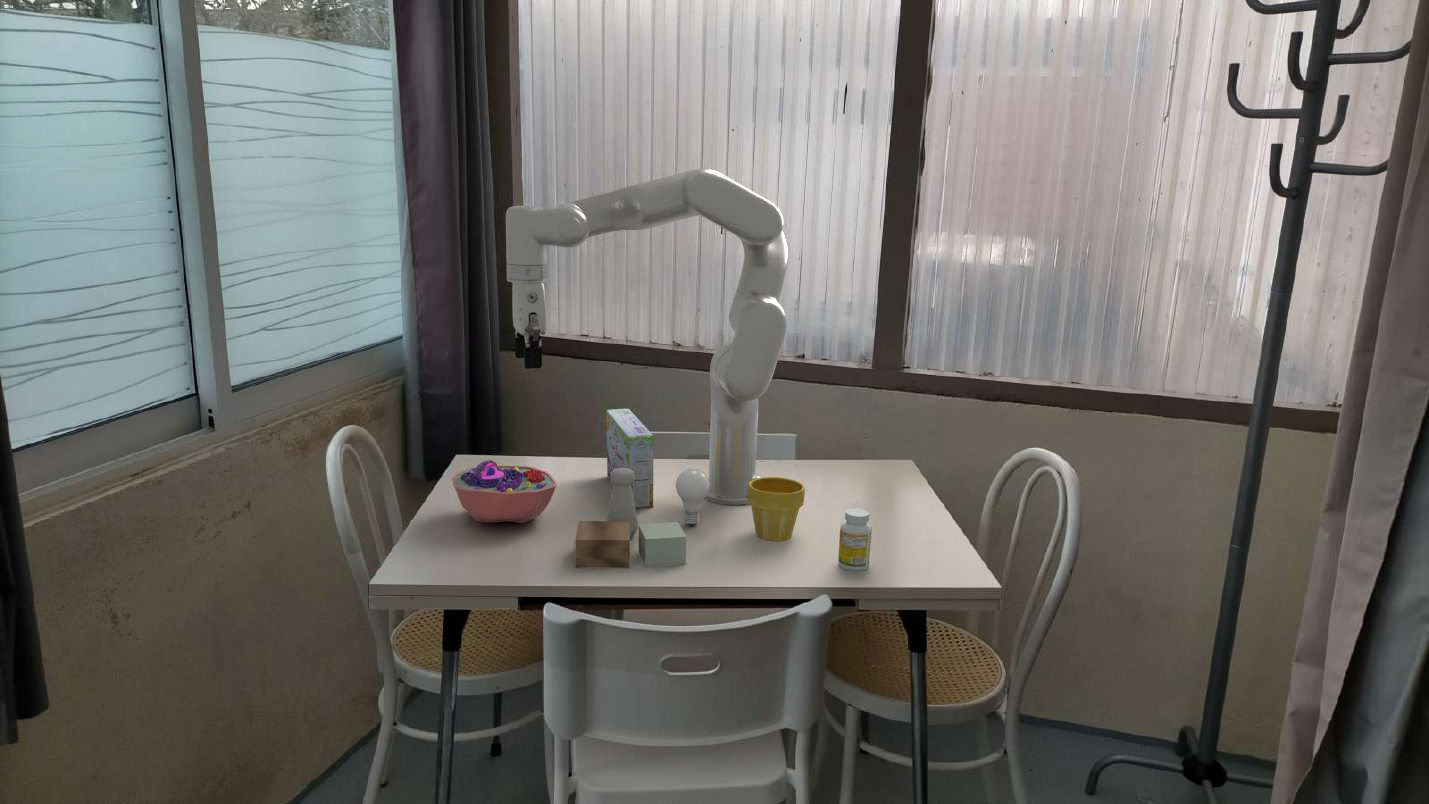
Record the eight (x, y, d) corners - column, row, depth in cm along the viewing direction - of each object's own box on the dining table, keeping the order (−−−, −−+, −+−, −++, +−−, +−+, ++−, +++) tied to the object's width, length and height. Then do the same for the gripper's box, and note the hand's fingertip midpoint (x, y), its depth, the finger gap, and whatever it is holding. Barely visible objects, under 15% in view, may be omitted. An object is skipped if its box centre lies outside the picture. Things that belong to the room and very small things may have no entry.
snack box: (604, 477, 219) (604, 408, 216) (629, 475, 221) (630, 407, 217) (627, 510, 200) (628, 435, 196) (655, 508, 202) (656, 434, 198)
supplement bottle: (858, 573, 173) (861, 520, 171) (831, 565, 176) (835, 512, 174) (874, 564, 177) (878, 512, 175) (848, 556, 180) (852, 505, 178)
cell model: (528, 544, 181) (528, 483, 178) (432, 526, 188) (430, 468, 185) (573, 514, 197) (573, 457, 194) (483, 499, 203) (482, 444, 200)
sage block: (677, 548, 181) (677, 522, 180) (685, 564, 175) (686, 536, 173) (638, 551, 179) (638, 524, 178) (645, 566, 173) (645, 539, 172)
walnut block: (629, 547, 181) (630, 521, 180) (629, 567, 172) (629, 540, 171) (578, 547, 180) (578, 520, 179) (575, 567, 172) (575, 539, 170)
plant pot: (788, 522, 196) (791, 474, 193) (811, 542, 186) (814, 491, 184) (738, 527, 192) (740, 478, 190) (758, 547, 183) (760, 495, 181)
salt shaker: (640, 533, 188) (641, 465, 185) (635, 545, 182) (636, 475, 179) (609, 531, 188) (609, 463, 185) (602, 543, 183) (603, 473, 180)
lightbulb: (669, 521, 195) (671, 465, 192) (700, 517, 197) (702, 462, 194) (682, 532, 189) (683, 475, 186) (713, 528, 191) (715, 472, 189)
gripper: (556, 278, 185) (557, 371, 189) (538, 267, 200) (539, 353, 205) (515, 279, 182) (516, 373, 186) (499, 268, 198) (501, 354, 202)
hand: (528, 362), depth 195 cm, fingers open, 9 cm apart
